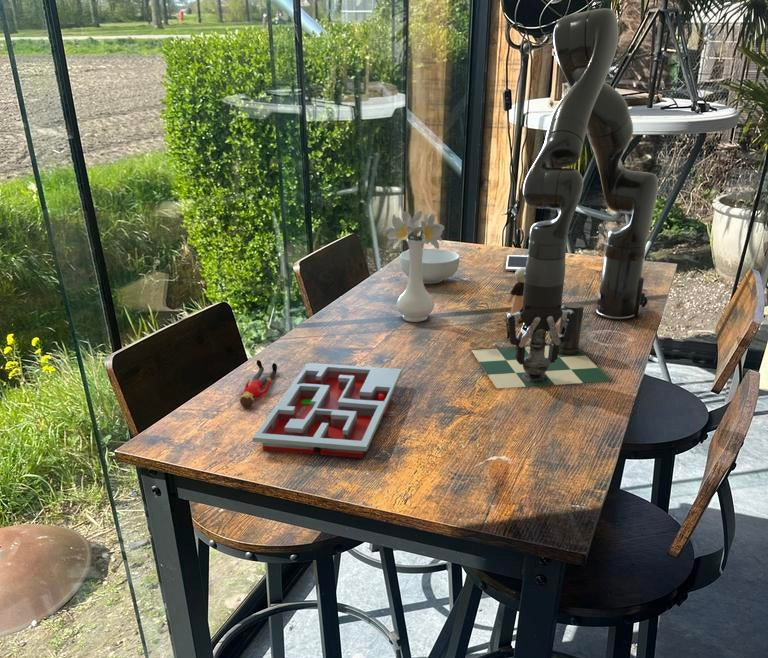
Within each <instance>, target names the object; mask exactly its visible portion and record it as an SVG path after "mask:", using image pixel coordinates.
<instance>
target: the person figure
mask: <svg viewBox="0 0 768 658" xmlns="http://www.w3.org/2000/svg"><path fill="white" fill-rule="evenodd" d="M262 363H263V362H262V361H261V360H260V359H257V360H256V365H257V367H258V371H257V373H256V374H255V375H254V376H253V377H252V379H251V380H250V379H249V378H248V379H247V380H246V383H245V386H244V390H243V392H242V394H241V396H240V398H239V404H240V405H241V407H242V408H244V409H247V408H250V407H252V406H253V404H254V401H255V399H260V398H262V397H263V396H264V395H265V394H266V393H267V392H268V391H269V389H270V386H271V383H272V379H273V378H274V377H275V376H276V374H277V371H278V365H277V364H276V363H275V362H273V363H272V364H271V368H272V369H271V370H272V371H271V372H270V373H269V374H268V375H267V376H265V377H263V378H261V377H262V375H263V372H264V371H265V368H264V366H263V364H262ZM264 386H265V387H264Z"/></svg>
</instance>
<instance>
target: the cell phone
mask: <svg viewBox="0 0 768 658" xmlns="http://www.w3.org/2000/svg"><path fill="white" fill-rule="evenodd" d="M527 258H528V255H519V254H518V255H517V254H508V255H507V257H506V264H505V271H508V272H510V271H511V272H514V271H515V272H516V270H518V269H520V268H526V263H527Z"/></svg>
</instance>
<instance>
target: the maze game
mask: <svg viewBox="0 0 768 658" xmlns="http://www.w3.org/2000/svg"><path fill="white" fill-rule="evenodd" d="M402 373H403V369H402V368H395V367H394V368H393V367H377V366H364V365H363V366H361V365H349V364H348V365H346V364H332V363H319V362H317V363H316V362H307V363H306V364H305V366H304V367H303V368H302V370H301V371H300V373H298V374H297V377H296V378H295V379H294V380H293V382H292V384H291V385H290V386H289V388H288V389H287V390H286V391H285V393H284V394H283V396H282V397H281V398H280V399H279V401H278V403H276V405H275V407H274V408H273V409H272V410H271V411H270V413H269V415H268V416H267V417H266V418H265V419H264V421H263V422H262V424H261V425H260V427H259V428H258V430H257V431H256V432H255V433H254V435H253V436H252V443H262V450H263V451H268V452H269V451H270V452H281V453H282V452H283V453H296V454H307V455H308V454H309V455H315V453H316V451H317V450H318V448H320V455H321V456H332V457H333V456H334V457H344V458H345V457H347V458H359V459H360V458H361V459H362V458H363V457H364V454H365V452H367V451H368V449H369V447H370V445H371V443H372V440H373V438H374V436H375V434H376V431H377V429H378V427H379V425H380V423H381V420H382V418H385V417H386V414H387V413H388V411H389V408H390V405H391V403H392V395H393V394H394V391H395V389H396V387H397V384H398V382H399V381H400V378H401V377H402Z"/></svg>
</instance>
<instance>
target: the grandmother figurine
mask: <svg viewBox="0 0 768 658" xmlns="http://www.w3.org/2000/svg"><path fill="white" fill-rule="evenodd" d="M524 274H525V268H520V269H518V270H516V271H515V272H514V277H515V279H516V281H517V282H516V283H515V284H514V285H513V287H512V289H511V291H510V292H509V295H508V298H507V302H508V303H511V302H512V305H511V310H510V313H511V314H512V313H517V312H520V310H521V308H522V304H523V291H524ZM520 322H523V321H522V319H521V318H520V319H519V320H518V323H520Z"/></svg>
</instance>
